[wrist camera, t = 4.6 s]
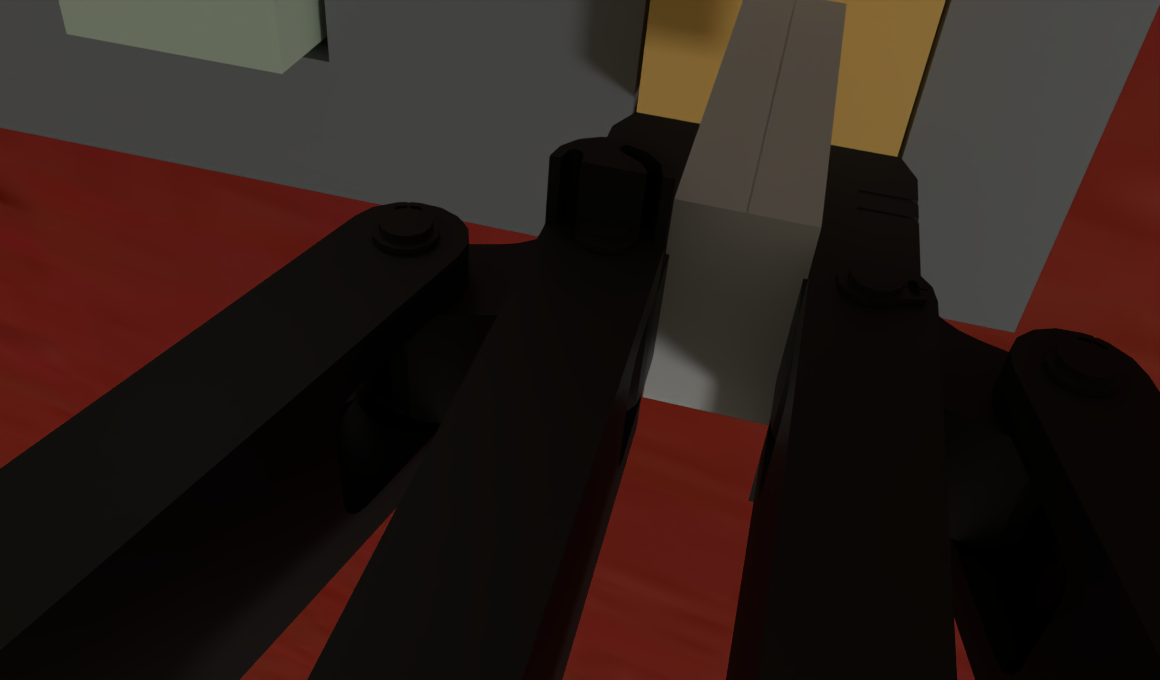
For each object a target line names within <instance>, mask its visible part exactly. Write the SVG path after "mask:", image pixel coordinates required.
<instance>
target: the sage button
mask: <svg viewBox="0 0 1160 680" xmlns="http://www.w3.org/2000/svg"><path fill="white" fill-rule="evenodd" d="M58 1H59V5H60V9H61V13H62V17H63V21H64V25H65V29H66V33H67V34H70V35H75V36H80V37H86V38H91V39H96V40H102V41H107V42H113V43H118V44H123V45H129V46H134V47H139V48H145V49H150V50H156V51H161V52H166V53H172V54H177V55H183V56H188V57H193V58H199V59H204V60H209V61H215V62H220V63H226V64H231V65H236V66H242V67H247V68H252V69H258V70H263V71H269V72H274V73H279V74H283V73H284V72H285V71H286V70H288V69H289V68H290V67H291V66H292V65H293V64H295V63H296V62H297V61H298V60H299V59H301V58H302V57H303V56H304V55H305V54H306V53H308V52H309V51H310V50H311V49H312V48H314V47H315V46H316V45H317V44H318V43H320V42H321V41H322V40H323V39H324V38H325V37H327V26H326V13H325V1H324V0H58Z"/></svg>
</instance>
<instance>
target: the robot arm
mask: <svg viewBox="0 0 1160 680" xmlns="http://www.w3.org/2000/svg"><path fill="white" fill-rule="evenodd" d="M846 5H847V4H845V3H839V2H833V1H827V0H743V2H742V5H741V8H740V11H739V13H738V16H737V19H736V22H735V25H734V28H733V31H732V34H731V36H730V39H729V42H728V45H727V48H726V51H725V54H724V57H723V60H722V62H721V65H720V68H719V71H718V74H717V77H716V80H715V83H714V86H713V88H712V91H711V94H710V97H709V100H708V103H707V106H706V109H705V112H704V114H703V117H702V120H701V123H700V124H699V123H693V122H688V121H682V120H677V119H672V118H666V117H661V116H655V115H650V114H644V113H639V112H635V113H633V114H631V115H630V116H628V117H626V118H625V119H623V120H621V121H620V122H618V123H616V124H615V125H613V126H612V128H611V130H610V132H609V134H608V136H607V137H593V138H583V139H577V140H574V141H572V142H569V143H566V144H563V145H561V146H559V147H558V148H557V149H556V150H555V151H554V152H553V153H552V154H551V155H550V157H549V172H548V187H547V202H546V217H545V225H544V227H543V228H542V230H541V232H540V234H539V236H538V238H537V239H535V240H531V241H527V242H522V243H515V244H469V235H468V228H467V227H466V225H465V224H464V223H463V222H462V220H461V219H460V218H459V217H458V216H456V215H454V214H452V213H450V212H449V211H447V210H445V209H443V208H441V207H436V206H432V205H427V204H423V203H417V202H410V203H407V202H396V203H391V204H386V205H381V206H376V207H372V208H370V209H368V210H366V211H364V212H362V213H360V214H358V215H356V216H354V217H353V218H351V219H350V220H349V221H347V222H346V223H344V224H343V225H342V226H340V227H339V228H337V229H336V230H335V231H333V232H332V233H330V234H329V235H328V236H326V237H325V238H323V239H322V240H321V241H319V242H318V243H316V244H315V245H314V246H312V247H311V248H309V249H308V250H307V251H305V252H304V253H302V254H301V255H300V256H298V257H297V258H295V259H294V260H293V261H291V262H290V263H288V264H287V265H285V266H284V267H283V268H281V269H280V270H278V271H277V272H276V273H274V274H273V275H271V276H270V277H269V278H267V279H266V280H264V281H263V282H262V283H260V284H259V285H257V286H256V287H255V288H253V289H252V290H250V291H249V292H248V293H246V294H245V295H243V296H242V297H241V298H239V299H238V300H236V301H235V302H234V303H232V304H231V305H229V306H228V307H227V308H225V309H224V310H222V311H221V312H220V313H218V314H217V315H215V316H214V317H213V318H211V319H210V320H208V321H207V322H206V323H204V324H203V325H201V326H200V327H199V328H197V329H196V330H194V331H193V332H191V333H190V334H189V335H187V336H186V337H184V338H183V339H182V340H180V341H179V342H177V343H176V344H175V345H173V346H172V347H170V348H169V349H168V350H166V351H165V352H163V353H162V354H161V355H159V356H158V357H156V358H155V359H154V360H152V361H151V362H149V363H148V364H147V365H145V366H144V367H142V368H141V369H140V370H138V371H137V372H135V373H134V374H133V375H131V376H130V377H128V378H127V379H126V380H124V381H123V382H121V383H120V384H119V385H117V386H116V387H114V388H113V389H112V390H110V391H109V392H107V393H106V394H105V395H103V396H102V397H100V398H99V399H98V400H96V401H95V402H93V403H92V404H90V405H89V406H88V407H86V408H85V409H83V410H82V411H81V412H79V413H78V414H76V415H75V416H74V417H72V418H71V419H69V420H68V421H67V422H65V423H64V424H62V425H61V426H60V427H58V428H57V429H55V430H54V431H53V432H51V433H50V434H48V435H47V436H46V437H44V438H43V439H41V440H40V441H39V442H37V443H36V444H34V445H33V446H32V447H30V448H29V449H27V450H26V451H25V452H23V453H22V454H20V455H19V456H18V457H16V458H15V459H13V460H12V461H11V462H9V463H8V464H6V465H5V466H4V467H2V468H1V469H0V680H240V679H241V677H242V676H243V675H244V674H245V673H246V672H247V671H248V670H249V669H250V668H251V667H252V665H253V664H254V663H255V662H256V661H257V660H258V659H259V658H260V657H261V656H262V654H263V653H264V652H265V651H266V650H267V649H268V648H269V647H270V646H271V645H272V643H273V642H274V641H275V640H276V639H277V638H278V637H279V636H280V635H281V634H282V633H283V631H284V630H285V629H286V628H287V627H288V626H289V625H290V624H291V623H292V622H293V620H294V619H295V618H296V617H297V616H298V615H299V614H300V613H301V612H302V611H303V610H304V608H305V607H306V606H307V605H308V604H309V603H310V602H311V601H312V600H313V599H314V597H315V596H316V595H317V594H318V593H319V592H320V591H321V590H322V589H323V588H324V586H325V585H326V584H327V583H328V582H329V581H330V580H331V579H332V578H333V577H334V576H335V574H336V573H337V572H338V571H339V570H340V569H341V568H342V567H343V566H344V565H345V563H346V562H347V561H348V560H349V559H350V558H351V557H352V556H353V555H354V554H355V553H356V551H357V550H358V549H359V548H360V547H361V546H362V545H363V544H364V543H365V542H366V540H367V539H368V538H369V537H370V536H371V535H372V534H373V533H374V532H375V531H376V529H377V528H378V527H379V526H380V525H381V524H382V523H383V522H384V521H385V520H386V519H387V517H388V516H389V515H390V514H391V513H392V512H393V511H394V510H395V509H396V508H397V509H396V511H395V513H394V514H393V516H392V518H391V520H390V522H389V524H388V526H387V528H386V530H385V532H384V534H383V536H382V537H381V539H380V541H379V543H378V545H377V547H376V549H375V551H374V553H373V555H372V557H371V559H370V561H369V562H368V564H367V566H366V568H365V570H364V572H363V574H362V576H361V578H360V580H359V582H358V584H357V585H356V587H355V589H354V591H353V593H352V595H351V597H350V599H349V601H348V603H347V605H346V607H345V609H344V610H343V612H342V614H341V616H340V618H339V620H338V622H337V624H336V626H335V628H334V630H333V632H332V633H331V635H330V637H329V639H328V641H327V643H326V645H325V647H324V649H323V651H322V653H321V655H320V656H319V658H318V660H317V662H316V664H315V666H314V668H313V670H312V672H311V674H310V676H309V678H308V680H562V678H563V675H564V672H565V668H566V665H567V662H568V658H569V655H570V651H571V648H572V645H573V641H574V638H575V634H576V631H577V628H578V624H579V621H580V617H581V614H582V611H583V607H584V604H585V600H586V597H587V594H588V590H589V587H590V583H591V580H592V577H593V573H594V570H595V566H596V563H597V560H598V556H599V553H600V549H601V546H602V543H603V539H604V536H605V533H606V529H607V526H608V522H609V519H610V516H611V512H612V509H613V505H614V502H615V499H616V495H617V492H618V488H619V485H620V482H621V478H622V475H623V471H624V468H625V465H626V461H627V458H628V454H629V451H630V448H631V444H632V441H633V437H634V434H635V431H636V427H637V421H638V415H639V409H640V402H641V396H642V392H643V389H644V394H643V397H645V398H650V399H654V400H659V401H663V402H668V403H672V404H677V405H681V406H686V407H690V408H694V409H699V410H703V411H708V412H712V413H717V414H721V415H726V416H730V417H735V418H739V419H744V420H748V421H753V422H757V423H762V424H766V425H768V424H769V427H768V431H767V434H766V438H765V442H764V445H763V449H762V453H761V457H760V460H759V464H758V468H757V471H756V475H755V479H754V483H753V486H752V490H751V494H750V497H749V501H752V502H754V503H753V510H752V516H751V522H750V529H749V535H748V542H747V548H746V555H745V561H744V567H743V574H742V580H741V587H740V593H739V600H738V606H737V612H736V619H735V625H734V632H733V638H732V645H731V651H730V657H729V664H728V670H727V677H726V680H957V669H956V649H955V629H954V618H955V621H956V624H957V627H958V630H959V633H960V636H961V639H962V642H963V645H964V648H965V651H966V654H967V657H968V660H969V662H970V665H971V668H972V671H973V674H974V677H975V680H1160V392H1159V390H1158V389H1157V387H1156V386H1155V384H1154V383H1153V381H1152V380H1151V378H1150V377H1149V375H1148V374H1147V373H1146V372H1145V371H1144V370H1143V369H1142V368H1141V367H1140V366H1139V365H1138V364H1137V362H1136V361H1135V360H1134V359H1133V358H1131V357H1130V356H1128V355H1127V354H1125V353H1123V352H1122V351H1120V350H1119V349H1117V348H1116V347H1114V346H1113V345H1111V344H1110V343H1108V342H1106V341H1103V340H1101V339H1099V338H1094V337H1093V336H1091V335H1087V334H1084V333H1080V332H1074V331H1068V330H1063V329H1057V328H1054V329H1039V330H1032V331H1030V332H1028V333H1026V334H1023V335H1021V336H1019V337H1017V338H1016V340H1015V342H1014V344H1013V346H1012V347H1011V349H1010V351H1009V352H1007V351H1005V350H1002V349H1000V348H997V347H995V346H992V345H990V344H987V343H985V342H983V341H980V340H978V339H976V338H974V337H971V336H969V335H967V334H965V333H963V332H961V331H959V330H958V329H956V328H955V327H953V326H952V325H950V324H949V323H947V322H946V321H944V320H943V319H942V318H941V317H940V316H939V308H938V300H937V297H936V295H935V292H934V290H933V287H932V286H931V285H930V284H929V283H928V282H927V281H926V280H925V279H924V278H923V277H922V276H921V264H920V234H919V223H918V220H919V205H918V179H917V178H916V177H915V175H914V174H913V173H912V171H911V170H910V169H909V167H908V166H907V165H906V164H905V162H904V161H903V160H902V158H901V157H895V156H890V155H884V154H879V153H873V152H868V151H863V150H857V149H852V148H846V147H841V146H835V145H831V138H832V129H833V120H834V111H835V102H836V93H837V85H838V76H839V67H840V58H841V49H842V40H843V31H844V22H845V14H846ZM644 385H645V388H644ZM770 417H771V419H770ZM769 420H770V423H769ZM397 506H398V507H397Z"/></svg>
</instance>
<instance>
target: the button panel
mask: <svg viewBox="0 0 1160 680" xmlns="http://www.w3.org/2000/svg"><path fill="white" fill-rule="evenodd" d="M324 1H325V13H326V26H327V37H325V38H324V39H323V40H322V41H321V42H320V43H318V44H317V45H316V46H315V47H314V48H312V49H311V50H310V51H309V52H308V53H306V54H305V55H304V56H303V57H302V58H301V59H299V60H298V61H297V62H296V63H295V64H293V65H292V66H291V67H290V68H289V69H288V70H286V71H285V72H284V73H283V74H279V73H274V72H269V71H263V70H258V69H252V68H247V67H242V66H236V65H231V64H226V63H220V62H215V61H209V60H204V59H199V58H193V57H188V56H183V55H177V54H172V53H166V52H161V51H156V50H150V49H145V48H139V47H134V46H129V45H123V44H118V43H113V42H107V41H102V40H96V39H91V38H86V37H80V36H75V35H70V34H67V33H66V29H65V25H64V21H63V17H62V13H61V9H60V5H59V1H58V0H0V128H5V129H10V130H15V131H20V132H25V133H30V134H35V135H40V136H45V137H50V138H55V139H59V140H64V141H69V142H74V143H79V144H84V145H89V146H94V147H99V148H104V149H109V150H114V151H119V152H124V153H129V154H134V155H139V156H144V157H148V158H153V159H158V160H163V161H168V162H173V163H178V164H183V165H188V166H193V167H198V168H203V169H208V170H213V171H218V172H223V173H228V174H233V175H237V176H242V177H247V178H252V179H257V180H262V181H267V182H272V183H277V184H282V185H287V186H292V187H297V188H302V189H307V190H312V191H317V192H322V193H326V194H331V195H336V196H341V197H346V198H351V199H356V200H361V201H366V202H371V203H376V204H381V205H386V204H391V203H396V202H407V203H410V202H417V203H423V204H427V205H432V206H436V207H441V208H443V209H445V210H447V211H449V212H450V213H452V214H454V215H456V216H458V217H459V218H460V219H461V220H462V221H465V222H470V223H475V224H480V225H485V226H490V227H495V228H500V229H504V230H509V231H514V232H519V233H524V234H529V235H534V236H539V234H540V232H541V230H542V228H543V227H544V225H545V217H546V202H547V187H548V172H549V157H550V155H551V154H552V153H553V152H554V151H555V150H556V149H557V148H558V147H559V146H561V145H563V144H566V143H569V142H572V141H574V140H577V139H583V138H593V137H607V136H608V134H609V132H610V130H611V128H612V126H613V125H615V124H616V123H618V122H620V121H621V120H623V119H625V118H626V117H628V116H630V115H631V114H633V113H635V112H637V104H638V96H639V88H640V80H641V72H642V64H643V55H644V47H645V39H646V31H647V23H648V15H649V7H650V0H324ZM1159 5H1160V0H946V1H945V4H944V7H943V10H942V13H941V17H940V20H939V23H938V26H937V30H936V33H935V36H934V39H933V43H932V46H931V49H930V52H929V56H928V59H927V62H926V65H925V69H924V72H923V75H922V78H921V82H920V85H919V88H918V91H917V95H916V98H915V101H914V104H913V108H912V111H911V114H910V117H909V121H908V124H907V127H906V130H905V134H904V137H903V140H902V143H901V147H900V150H899V153H898V156H897V157H901V158H902V160H903V161H904V162H905V164H906V165H907V166H908V167H909V169H910V170H911V171H912V173H913V174H914V175H915V177H916V178H917V179H918V205H919V220H918V223H919V234H920V264H921V276H922V277H923V278H924V279H925V280H926V281H927V282H928V283H929V284H930V285H931V286H932V287H933V290H934V292H935V295H936V297H937V300H938V308H939V316H940V317H941V318H945V319H950V320H954V321H959V322H964V323H969V324H974V325H979V326H984V327H989V328H994V329H999V330H1004V331H1009V332H1015V330H1016V327H1017V325H1018V323H1019V321H1020V318H1021V316H1022V314H1023V312H1024V309H1025V307H1026V305H1027V303H1028V300H1029V298H1030V296H1031V293H1032V291H1033V289H1034V287H1035V284H1036V282H1037V280H1038V278H1039V275H1040V273H1041V271H1042V269H1043V266H1044V264H1045V262H1046V260H1047V257H1048V255H1049V253H1050V251H1051V248H1052V246H1053V244H1054V242H1055V239H1056V237H1057V235H1058V233H1059V230H1060V228H1061V226H1062V224H1063V221H1064V219H1065V217H1066V215H1067V212H1068V210H1069V208H1070V206H1071V203H1072V201H1073V199H1074V196H1075V194H1076V192H1077V190H1078V187H1079V185H1080V183H1081V181H1082V178H1083V176H1084V174H1085V172H1086V169H1087V167H1088V165H1089V163H1090V160H1091V158H1092V156H1093V154H1094V151H1095V149H1096V147H1097V145H1098V142H1099V140H1100V138H1101V136H1102V133H1103V131H1104V129H1105V127H1106V124H1107V122H1108V120H1109V118H1110V115H1111V113H1112V111H1113V109H1114V106H1115V104H1116V102H1117V99H1118V97H1119V95H1120V93H1121V90H1122V88H1123V86H1124V84H1125V81H1126V79H1127V77H1128V75H1129V72H1130V70H1131V68H1132V66H1133V63H1134V61H1135V59H1136V57H1137V54H1138V52H1139V50H1140V48H1141V45H1142V43H1143V41H1144V39H1145V36H1146V34H1147V32H1148V30H1149V27H1150V25H1151V23H1152V21H1153V18H1154V16H1155V14H1156V12H1157V9H1158V7H1159Z"/></svg>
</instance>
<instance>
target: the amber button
mask: <svg viewBox="0 0 1160 680" xmlns="http://www.w3.org/2000/svg"><path fill="white" fill-rule="evenodd" d="M827 1H833V2H839V3H845V4H847V5H846V14H845V22H844V31H843V40H842V49H841V58H840V67H839V76H838V85H837V93H836V102H835V111H834V120H833V129H832V138H831V145H835V146H841V147H846V148H852V149H857V150H863V151H868V152H873V153H879V154H884V155H890V156H895V157H897V156H898V153H899V150H900V147H901V143H902V140H903V137H904V134H905V130H906V127H907V124H908V121H909V117H910V114H911V111H912V108H913V104H914V101H915V98H916V95H917V91H918V88H919V85H920V82H921V78H922V75H923V72H924V69H925V65H926V62H927V59H928V56H929V52H930V49H931V46H932V43H933V39H934V36H935V33H936V30H937V26H938V23H939V20H940V17H941V13H942V10H943V7H944V4H945V1H946V0H827ZM742 2H743V0H650V7H649V15H648V23H647V31H646V39H645V47H644V55H643V64H642V72H641V80H640V88H639V96H638V104H637V112H639V113H644V114H650V115H655V116H661V117H666V118H672V119H677V120H682V121H688V122H693V123H699V124H700V123H701V120H702V117H703V114H704V112H705V109H706V106H707V103H708V100H709V97H710V94H711V91H712V88H713V86H714V83H715V80H716V77H717V74H718V71H719V68H720V65H721V62H722V60H723V57H724V54H725V51H726V48H727V45H728V42H729V39H730V36H731V34H732V31H733V28H734V25H735V22H736V19H737V16H738V13H739V11H740V8H741V5H742Z"/></svg>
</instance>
